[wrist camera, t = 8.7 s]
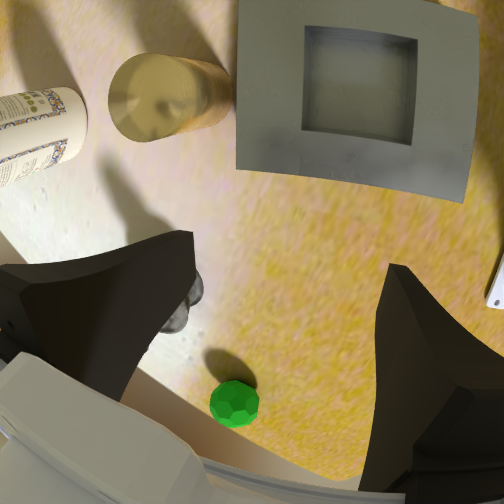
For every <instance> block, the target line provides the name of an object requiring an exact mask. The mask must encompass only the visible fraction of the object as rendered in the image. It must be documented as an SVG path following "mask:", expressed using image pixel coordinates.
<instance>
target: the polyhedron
mask: <svg viewBox="0 0 504 504" xmlns="http://www.w3.org/2000/svg"><path fill="white" fill-rule="evenodd" d="M258 405H259V396H258V395H257V393H256V391H255V389H253V388H252V387H250V386H248V385H246V384H244V383H242V382H240V381H237V380H233V381H226V382H224V383H222V384H220V385H219V386H218V387H217V388H216V389H215V390H214V391H213V392H212V394H211V399H210V411H211V413H212V415H213V417H214V419H215V420H216V421H218V422H219V423H221V424H223V425H225V426H227V427H229V428H236V427H242V426H246V425H249V424H250V423H251V422H252V421H253V420H254V419H255V418H256V417H257V412H258Z"/></svg>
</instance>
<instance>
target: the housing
mask: <svg viewBox="0 0 504 504" xmlns="http://www.w3.org/2000/svg"><path fill="white" fill-rule="evenodd" d="M478 94H479V27H478V16H475V15H472V14H469V13H466V12H463V11H460V10H457V9H453V8H450V7H447V6H443V5H439V4H436V3H432V2H428V1H424V0H239V5H238V45H237V104H236V169H238V170H250V171H261V172H271V173H281V174H290V175H299V176H307V177H315V178H323V179H330V180H337V181H344V182H351V183H357V184H364V185H370V186H376V187H382V188H388V189H393V190H399V191H404V192H410V193H415V194H420V195H425V196H430V197H435V198H439V199H444V200H449V201H453V202H458V203H462V204H463V200H464V196H465V191H466V186H467V181H468V176H469V170H470V164H471V158H472V152H473V145H474V137H475V129H476V119H477V108H478Z"/></svg>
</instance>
